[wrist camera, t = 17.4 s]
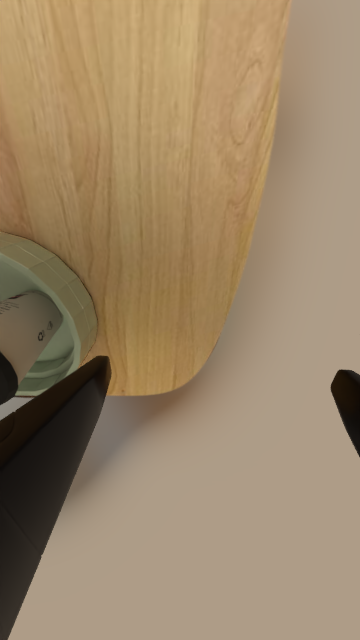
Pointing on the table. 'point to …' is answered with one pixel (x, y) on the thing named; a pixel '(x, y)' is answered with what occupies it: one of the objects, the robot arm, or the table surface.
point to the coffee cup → (24, 336)
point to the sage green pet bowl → (69, 296)
